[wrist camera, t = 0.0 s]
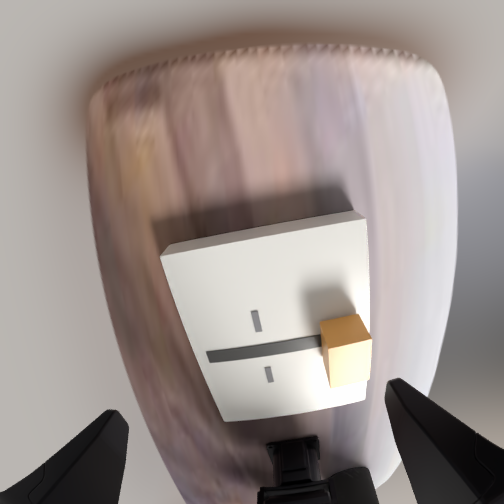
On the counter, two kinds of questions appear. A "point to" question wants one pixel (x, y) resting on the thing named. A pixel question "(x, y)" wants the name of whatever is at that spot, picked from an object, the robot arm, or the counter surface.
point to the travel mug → (355, 487)
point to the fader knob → (346, 350)
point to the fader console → (271, 310)
